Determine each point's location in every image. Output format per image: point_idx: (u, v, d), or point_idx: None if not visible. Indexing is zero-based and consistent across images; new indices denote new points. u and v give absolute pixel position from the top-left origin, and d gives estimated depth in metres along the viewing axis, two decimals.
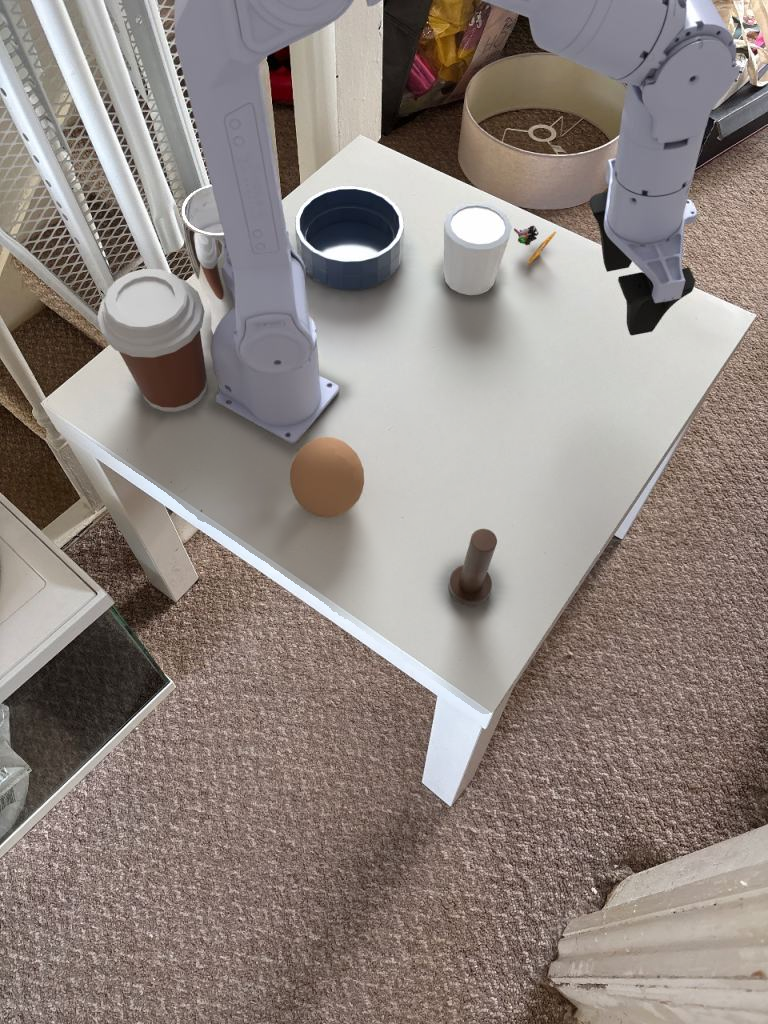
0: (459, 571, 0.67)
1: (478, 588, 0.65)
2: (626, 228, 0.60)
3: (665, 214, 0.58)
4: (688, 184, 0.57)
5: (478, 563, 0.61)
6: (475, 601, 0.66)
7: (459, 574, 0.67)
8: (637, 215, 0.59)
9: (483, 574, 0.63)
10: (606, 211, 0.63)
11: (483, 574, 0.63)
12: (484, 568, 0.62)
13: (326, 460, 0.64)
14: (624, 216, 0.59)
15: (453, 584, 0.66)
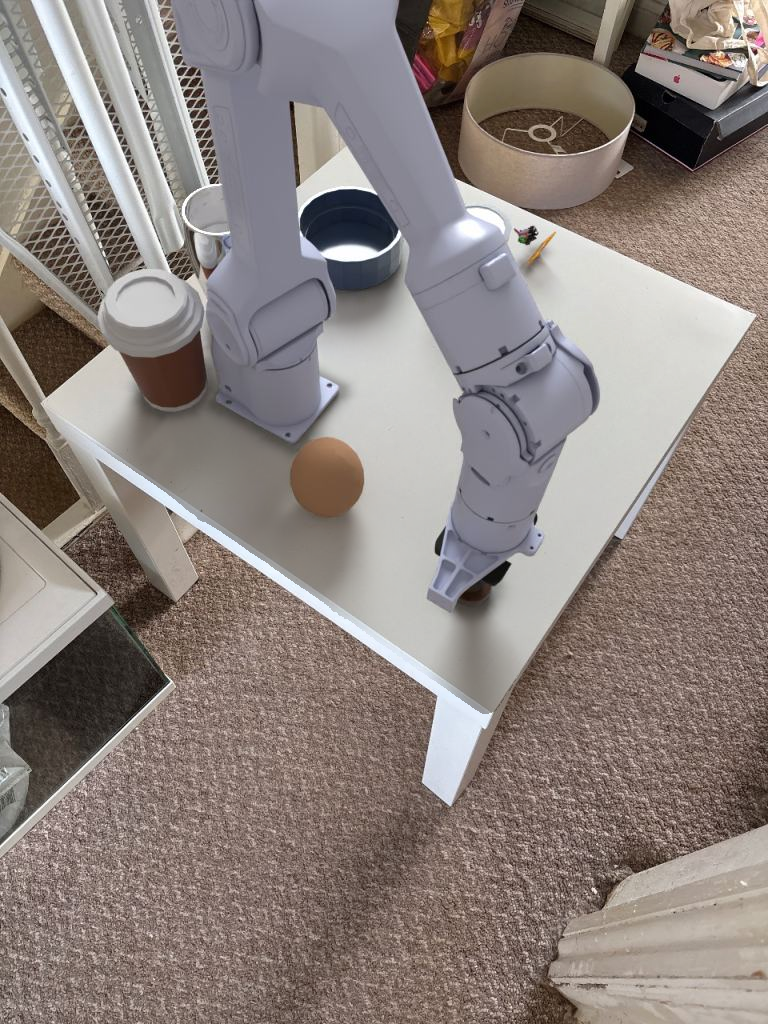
0: None
1: None
2: (454, 515, 0.55)
3: (480, 531, 0.53)
4: (511, 523, 0.51)
5: None
6: (475, 600, 0.66)
7: None
8: (459, 512, 0.53)
9: None
10: None
11: None
12: None
13: (326, 460, 0.64)
14: (455, 504, 0.54)
15: None
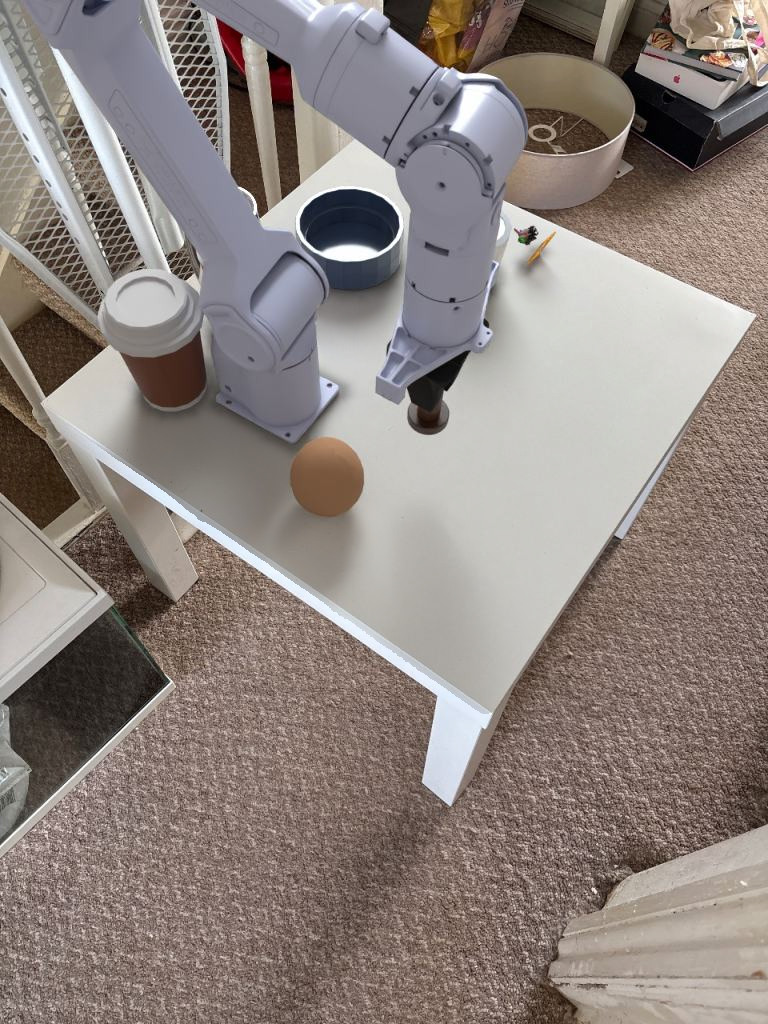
0: None
1: (435, 415, 0.66)
2: (403, 310, 0.56)
3: (427, 317, 0.53)
4: (456, 303, 0.52)
5: None
6: (432, 428, 0.66)
7: None
8: (407, 301, 0.54)
9: None
10: None
11: None
12: None
13: (326, 460, 0.64)
14: None
15: (411, 413, 0.67)
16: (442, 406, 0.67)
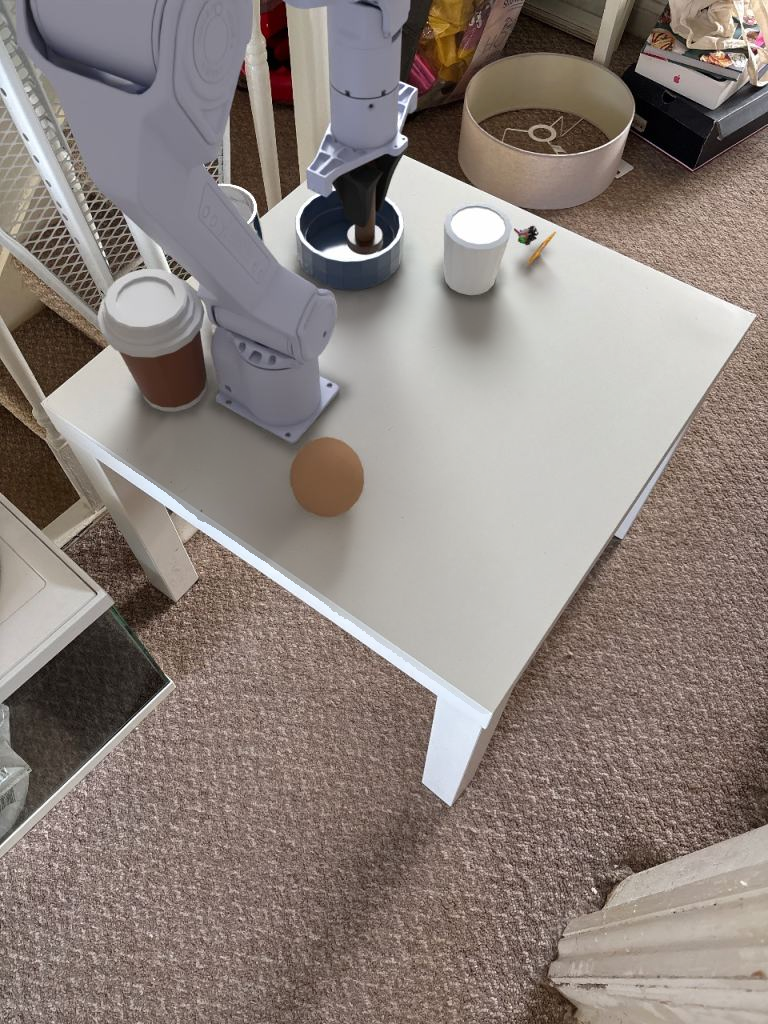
0: None
1: (369, 235, 0.76)
2: None
3: (348, 117, 0.63)
4: (370, 100, 0.62)
5: None
6: (367, 247, 0.76)
7: (355, 229, 0.77)
8: (332, 106, 0.64)
9: None
10: None
11: None
12: None
13: (326, 460, 0.64)
14: (330, 104, 0.65)
15: (349, 235, 0.77)
16: (377, 230, 0.77)
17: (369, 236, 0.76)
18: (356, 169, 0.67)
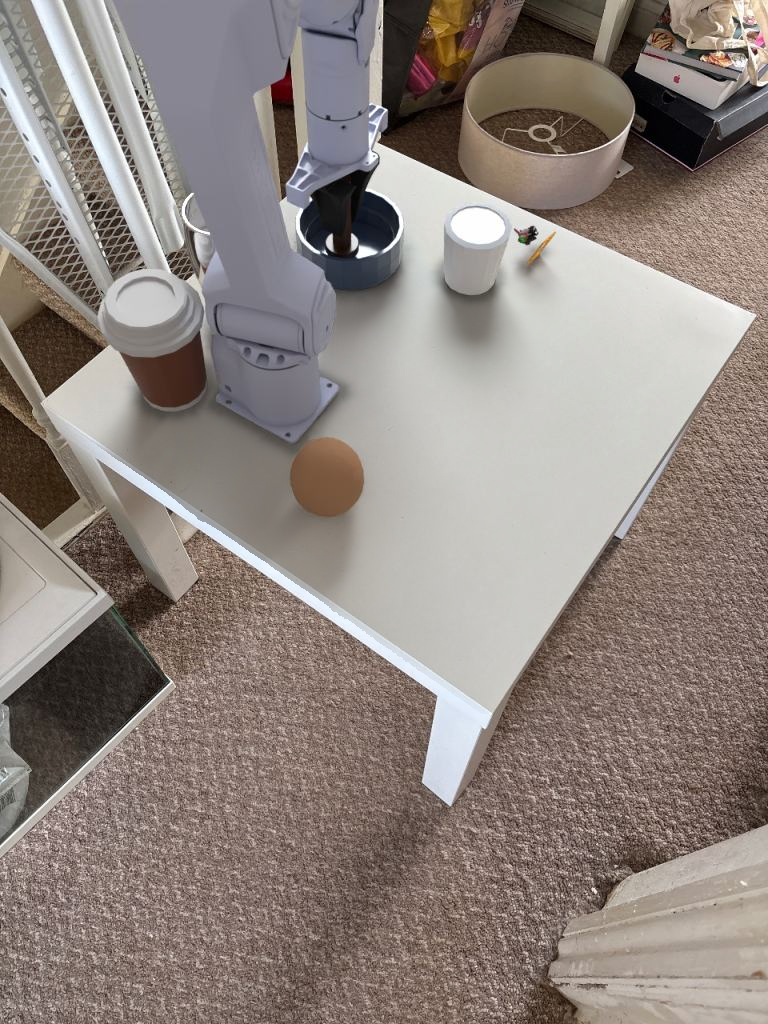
0: None
1: (346, 243, 0.83)
2: None
3: (323, 137, 0.70)
4: (342, 122, 0.68)
5: None
6: (344, 253, 0.83)
7: (333, 237, 0.84)
8: (308, 126, 0.71)
9: (346, 221, 0.80)
10: None
11: None
12: None
13: (326, 460, 0.64)
14: None
15: (327, 243, 0.83)
16: (353, 238, 0.84)
17: (346, 244, 0.83)
18: (331, 183, 0.74)
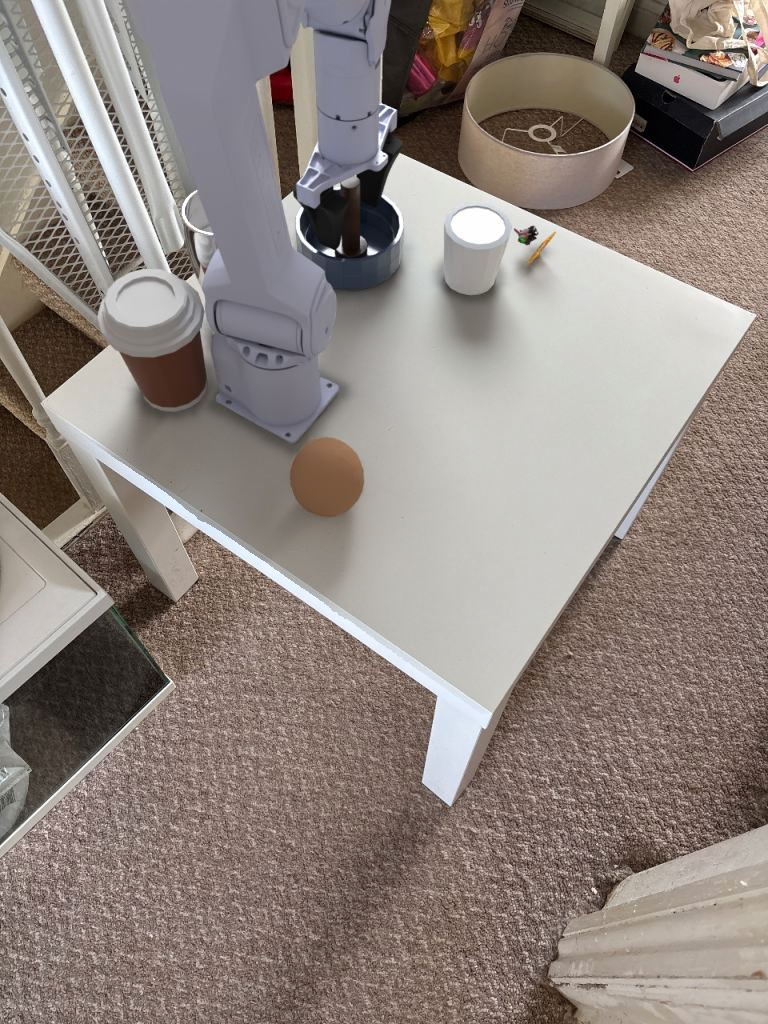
0: None
1: (355, 245, 0.84)
2: (318, 137, 0.73)
3: (333, 137, 0.71)
4: (353, 122, 0.69)
5: (348, 206, 0.79)
6: (353, 255, 0.84)
7: (342, 239, 0.85)
8: (319, 126, 0.71)
9: (355, 224, 0.81)
10: None
11: (355, 223, 0.81)
12: (354, 214, 0.80)
13: (326, 460, 0.64)
14: None
15: None
16: (362, 240, 0.85)
17: (355, 246, 0.84)
18: (326, 198, 0.74)
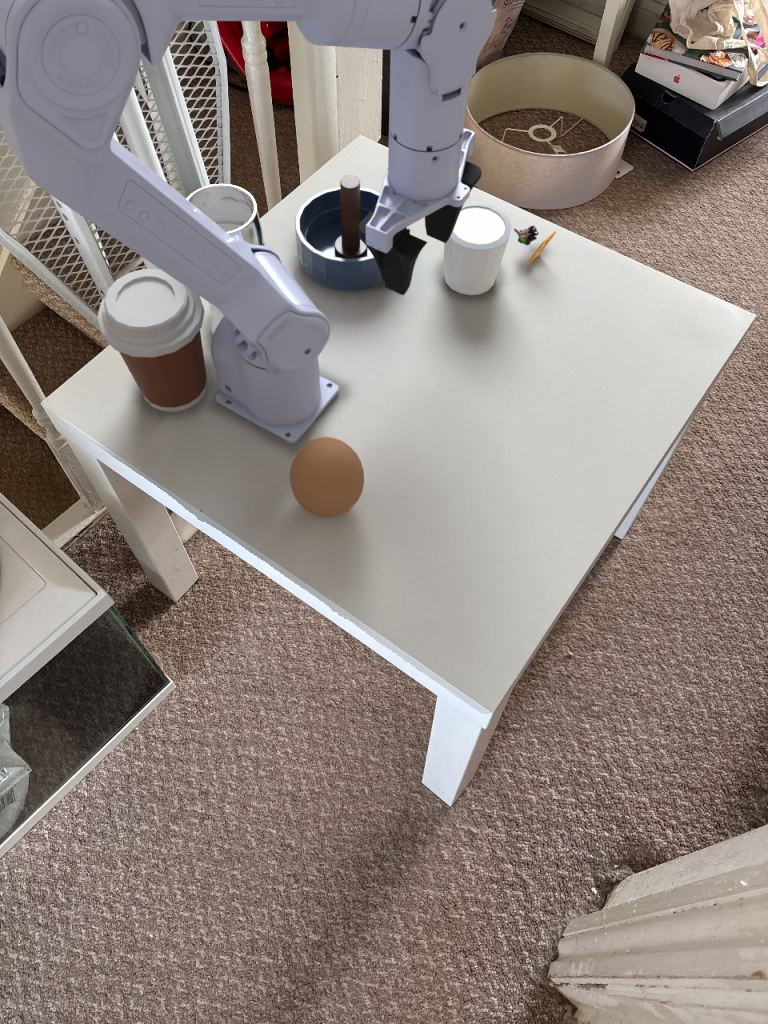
0: None
1: (355, 245, 0.84)
2: (388, 169, 0.62)
3: (409, 170, 0.60)
4: (434, 153, 0.58)
5: (348, 206, 0.79)
6: (353, 255, 0.84)
7: (342, 239, 0.85)
8: (391, 157, 0.61)
9: (355, 224, 0.81)
10: None
11: (355, 223, 0.81)
12: (354, 214, 0.80)
13: (326, 460, 0.64)
14: (388, 155, 0.61)
15: (337, 245, 0.85)
16: None
17: (355, 246, 0.84)
18: (399, 240, 0.63)
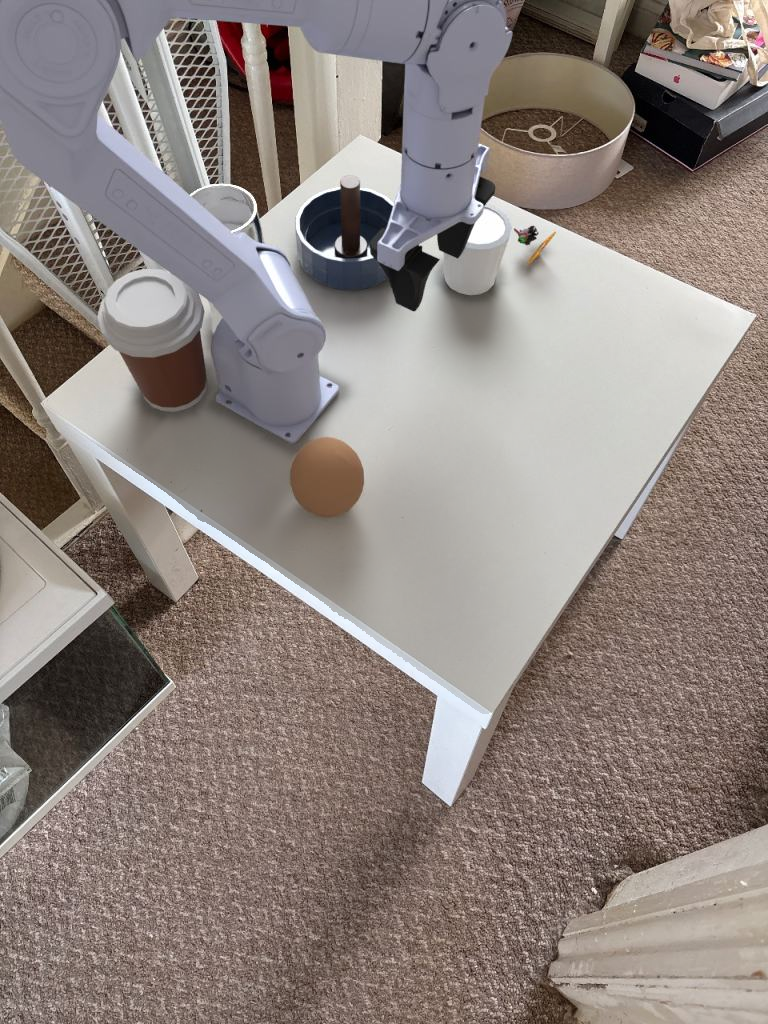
0: None
1: (355, 245, 0.84)
2: (401, 185, 0.61)
3: (423, 186, 0.59)
4: (448, 170, 0.57)
5: (348, 206, 0.79)
6: (353, 255, 0.84)
7: (342, 239, 0.85)
8: (404, 174, 0.60)
9: (355, 224, 0.81)
10: None
11: (355, 223, 0.81)
12: (354, 214, 0.80)
13: (326, 460, 0.64)
14: (401, 171, 0.61)
15: (337, 245, 0.85)
16: (362, 240, 0.85)
17: (355, 246, 0.84)
18: (411, 257, 0.62)
